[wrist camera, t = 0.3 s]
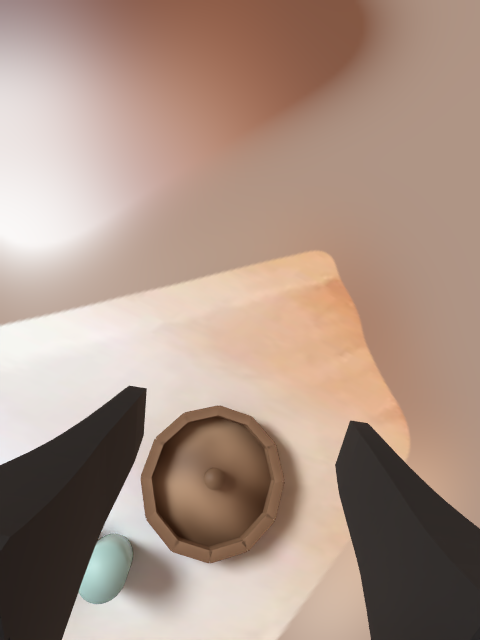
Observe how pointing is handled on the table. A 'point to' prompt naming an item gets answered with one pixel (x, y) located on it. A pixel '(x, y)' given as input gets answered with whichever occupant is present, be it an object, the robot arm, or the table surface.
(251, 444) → the tray
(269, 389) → the table surface
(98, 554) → the pale teal rounded piece
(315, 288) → the table surface
